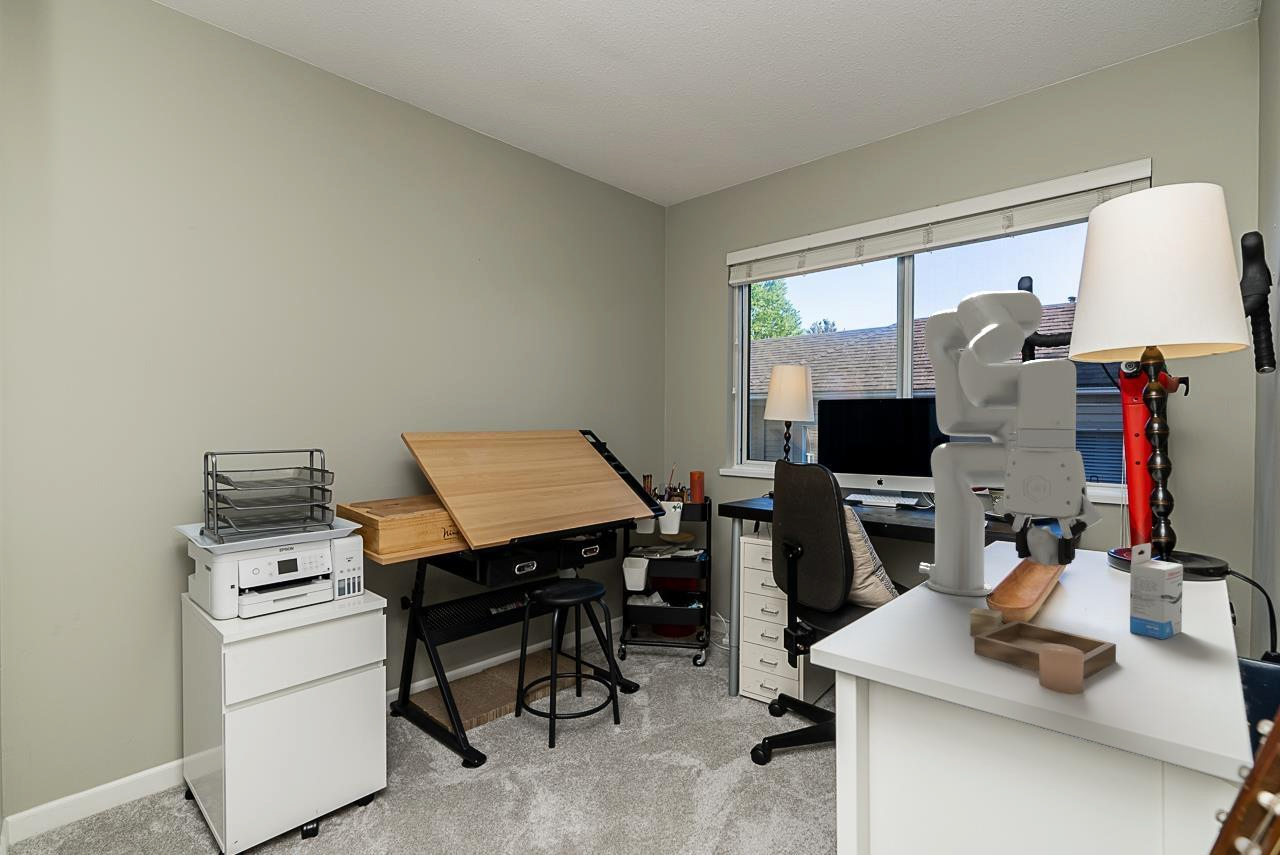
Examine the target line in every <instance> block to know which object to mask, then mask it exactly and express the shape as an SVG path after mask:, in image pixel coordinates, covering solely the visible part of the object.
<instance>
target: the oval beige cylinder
mask: <svg viewBox="0 0 1280 855" xmlns="http://www.w3.org/2000/svg"><path fill="white" fill-rule="evenodd" d="M1083 666H1084V653H1083V652H1082V651H1081V650H1079V649H1077V648H1074V647H1071V646H1067V645H1061V644H1053V643H1045V644H1041V645H1039V672H1038V684H1039V685H1040V687H1043V688H1045V689H1047V690H1050V691H1052V692H1056V693H1059V694H1065V695H1079V694H1082V693H1084V680H1083Z"/></svg>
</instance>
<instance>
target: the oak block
mask: <svg viewBox="0 0 1280 855" xmlns="http://www.w3.org/2000/svg"><path fill="white" fill-rule="evenodd" d="M969 615H970V616H969V620H970V621H969V622H970V624H969V630H970V631H969V637H974V638H975V636H976V635H979V634H981V633H984V632H987V631H989V630H992V629H994V628H997V627H1000V626H1002V625H1003V612H1002V611H1000V610H999V611H998V610H994V609H987V608H982V607H981V608H980V607H975V608H973V609H972V610H971V611H970V614H969Z"/></svg>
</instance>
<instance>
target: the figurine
mask: <svg viewBox="0 0 1280 855" xmlns="http://www.w3.org/2000/svg"><path fill="white" fill-rule="evenodd" d="M1051 529H1052V527H1050V526H1047V525H1046V526H1043V527H1038V526H1036V525H1035V524H1034V523H1031V528H1030V529H1029V531H1028V534H1027V544H1028V548H1029V551H1030V553H1031V556H1030V557H1027V559H1028V561H1029V562H1031V563H1033V564H1036V563H1040V564H1041V565H1042V566H1043V568H1044V569H1045V570H1047V569H1048V568H1049V569H1050V568H1051V567H1050V566H1053V567H1054V566H1061V565H1060V564H1058V539H1059V538H1061V537H1060V536H1059V535H1057V534H1056V533H1054V532H1052V530H1051ZM1047 567H1048V568H1047Z"/></svg>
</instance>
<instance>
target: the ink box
mask: <svg viewBox="0 0 1280 855" xmlns="http://www.w3.org/2000/svg"><path fill="white" fill-rule="evenodd" d="M1141 551H1142V552H1143V553H1142V554H1139V552H1141ZM1151 552H1152V543H1151V542H1148V543H1141V544H1138V545H1134V546H1132V547H1131V560H1130V561H1131V562H1130V563H1131V564H1130V592H1129V593H1130V595H1129V596H1130V597H1129V633H1133V634H1138V635H1141V636H1146V637H1149V638H1154V639H1159V640H1166V639H1168V638H1171V637H1173V636H1174V635H1177V634H1179V633H1181V632H1182V629H1183V628H1182V624H1183V622H1182V621H1183V580H1184V578H1183V577H1184V565H1183V564H1182V563H1176V562H1170V561H1168V562H1167V561H1162V560H1155V559H1151V555H1152V554H1151Z"/></svg>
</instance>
